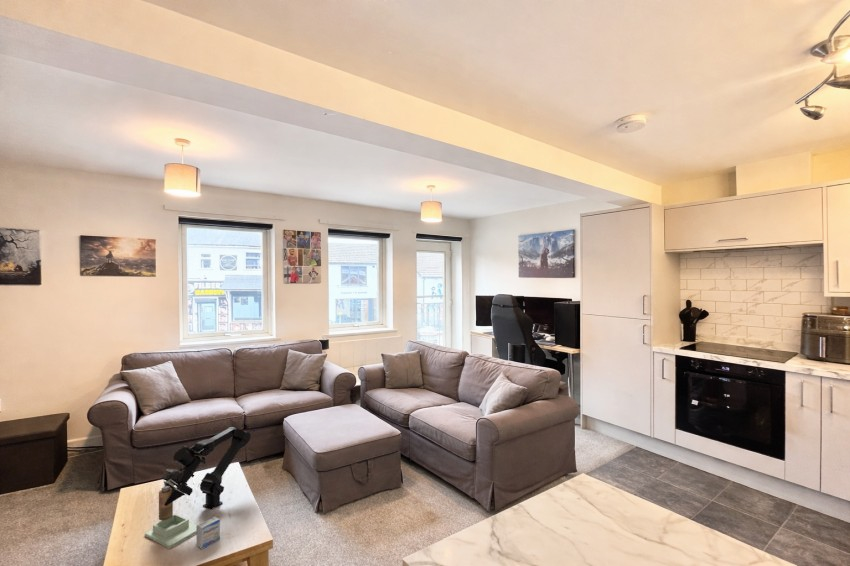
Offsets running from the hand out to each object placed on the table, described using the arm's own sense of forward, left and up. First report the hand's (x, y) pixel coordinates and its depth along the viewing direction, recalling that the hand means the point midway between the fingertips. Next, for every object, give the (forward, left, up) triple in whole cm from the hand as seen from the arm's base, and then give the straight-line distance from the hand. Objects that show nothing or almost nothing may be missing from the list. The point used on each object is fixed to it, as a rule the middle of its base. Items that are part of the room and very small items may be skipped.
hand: (162, 503), depth 175 cm
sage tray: (-6, -2, -12) cm, 14 cm away
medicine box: (-25, -5, -13) cm, 28 cm away
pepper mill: (0, -1, -7) cm, 7 cm away
